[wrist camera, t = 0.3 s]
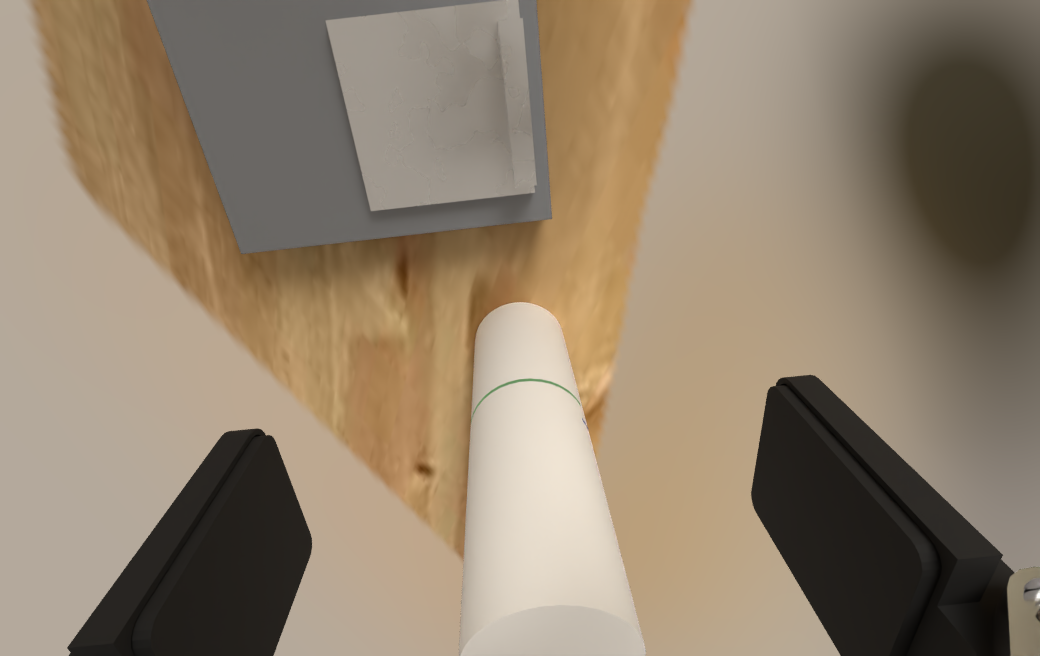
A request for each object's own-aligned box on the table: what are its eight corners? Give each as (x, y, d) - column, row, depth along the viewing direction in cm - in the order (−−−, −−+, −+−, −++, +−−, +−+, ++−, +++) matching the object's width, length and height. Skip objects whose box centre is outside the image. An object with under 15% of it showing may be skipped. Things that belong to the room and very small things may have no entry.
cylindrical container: (493, 389, 44) (496, 730, 22) (461, 318, 40) (427, 635, 18) (573, 364, 43) (662, 690, 21) (548, 290, 40) (621, 584, 18)
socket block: (185, 3, 30) (145, -4, 26) (527, -36, 30) (532, -49, 26) (265, 234, 37) (241, 253, 33) (546, 203, 37) (552, 218, 33)
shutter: (329, 21, 27) (310, 17, 24) (517, 0, 27) (520, -7, 24) (373, 207, 32) (361, 223, 29) (534, 189, 32) (538, 203, 29)
